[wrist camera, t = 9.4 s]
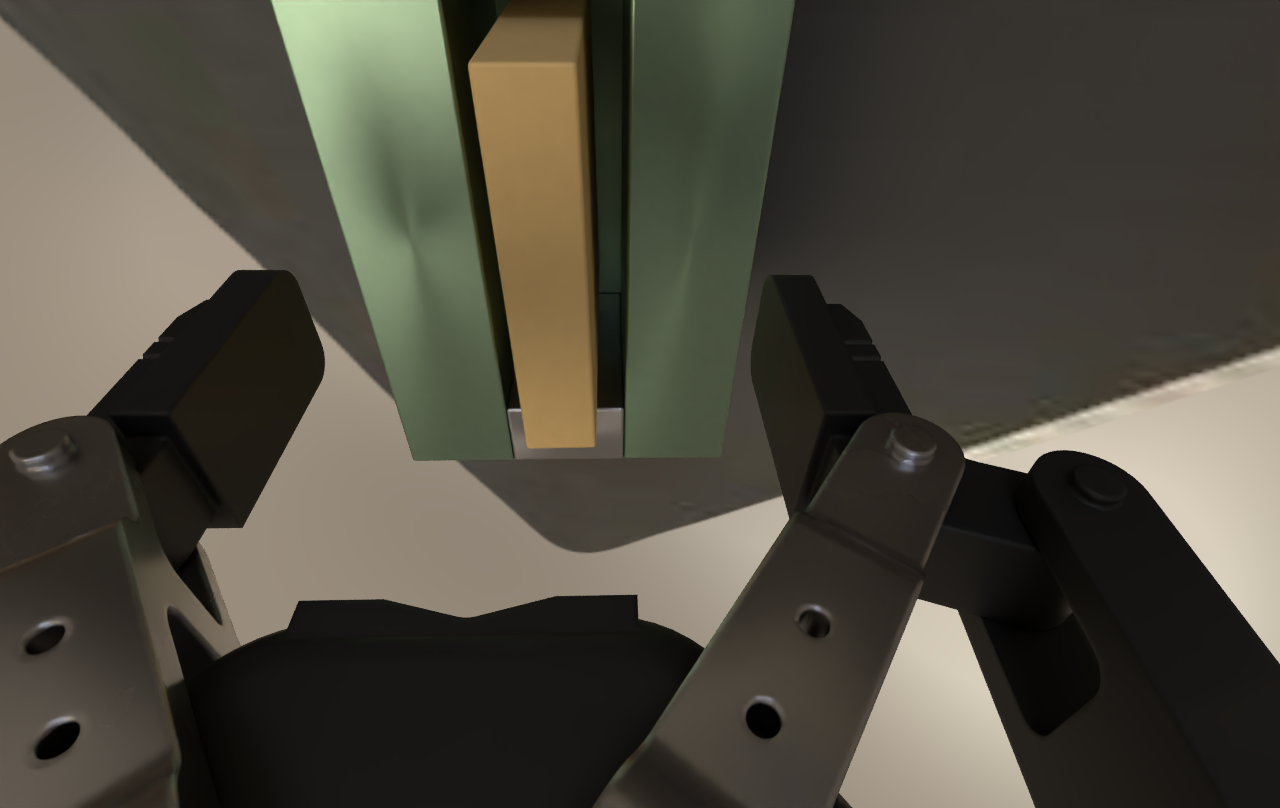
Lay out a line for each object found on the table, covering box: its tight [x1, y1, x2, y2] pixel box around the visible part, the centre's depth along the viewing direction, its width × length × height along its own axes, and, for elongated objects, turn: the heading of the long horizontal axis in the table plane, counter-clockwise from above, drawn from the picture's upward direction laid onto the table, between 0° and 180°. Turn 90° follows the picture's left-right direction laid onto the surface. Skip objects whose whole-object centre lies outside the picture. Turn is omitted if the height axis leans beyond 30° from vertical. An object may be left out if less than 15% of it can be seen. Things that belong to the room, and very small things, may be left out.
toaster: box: [269, 0, 796, 461], centre depth 17 cm, size 14×9×10 cm, turn 178°
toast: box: [468, 0, 599, 449], centre depth 15 cm, size 8×2×8 cm, turn 179°
